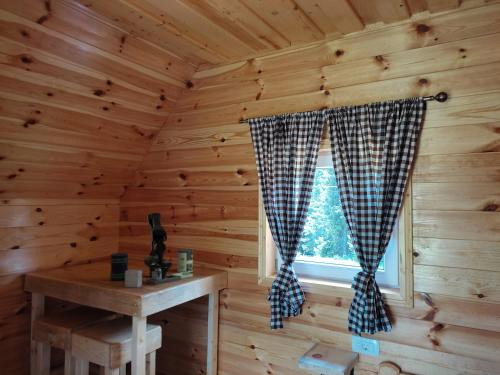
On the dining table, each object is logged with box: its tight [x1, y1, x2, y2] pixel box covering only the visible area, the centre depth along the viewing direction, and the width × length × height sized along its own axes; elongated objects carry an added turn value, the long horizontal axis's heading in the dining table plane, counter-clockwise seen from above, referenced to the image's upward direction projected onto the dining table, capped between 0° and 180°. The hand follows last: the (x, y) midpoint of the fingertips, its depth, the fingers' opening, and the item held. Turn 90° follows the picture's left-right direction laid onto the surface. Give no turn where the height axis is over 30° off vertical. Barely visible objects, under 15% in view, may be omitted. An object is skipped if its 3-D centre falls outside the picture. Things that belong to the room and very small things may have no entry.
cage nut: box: [152, 268, 163, 281], centre depth 209 cm, size 5×5×8 cm
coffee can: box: [176, 248, 194, 273], centre depth 242 cm, size 10×10×14 cm
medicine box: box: [124, 269, 143, 288], centre depth 200 cm, size 8×4×9 cm, turn 75°
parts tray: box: [171, 272, 194, 280], centre depth 225 cm, size 9×9×2 cm
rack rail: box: [145, 273, 182, 286], centre depth 212 cm, size 9×18×2 cm, turn 139°
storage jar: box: [110, 252, 129, 282], centre depth 216 cm, size 10×10×15 cm
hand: (158, 278), depth 209 cm, fingers open, 9 cm apart
